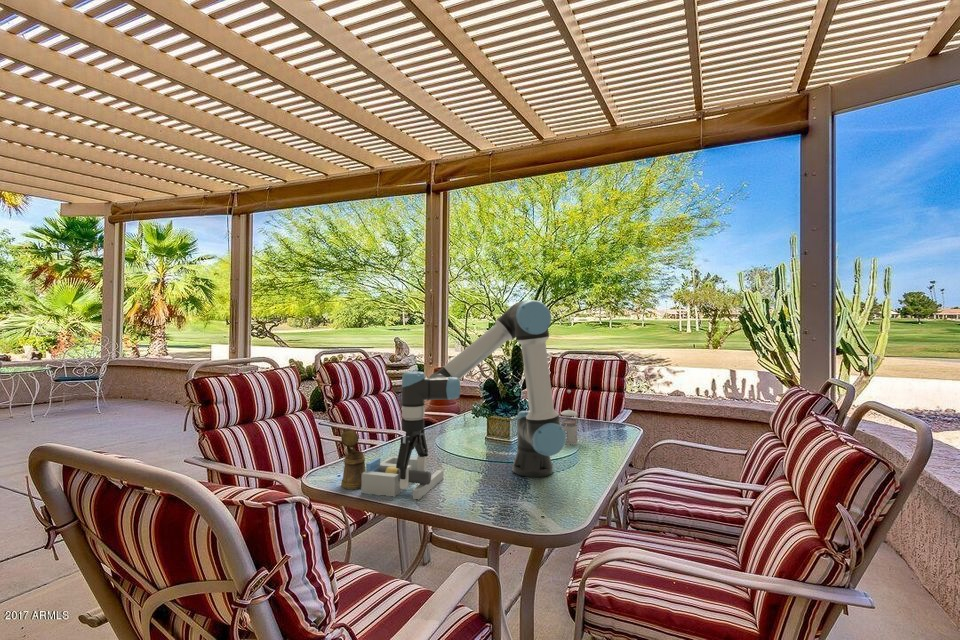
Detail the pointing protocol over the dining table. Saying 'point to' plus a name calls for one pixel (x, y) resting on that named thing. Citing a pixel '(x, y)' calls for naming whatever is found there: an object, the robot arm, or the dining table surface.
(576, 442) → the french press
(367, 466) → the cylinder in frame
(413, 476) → the rod
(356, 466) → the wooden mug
